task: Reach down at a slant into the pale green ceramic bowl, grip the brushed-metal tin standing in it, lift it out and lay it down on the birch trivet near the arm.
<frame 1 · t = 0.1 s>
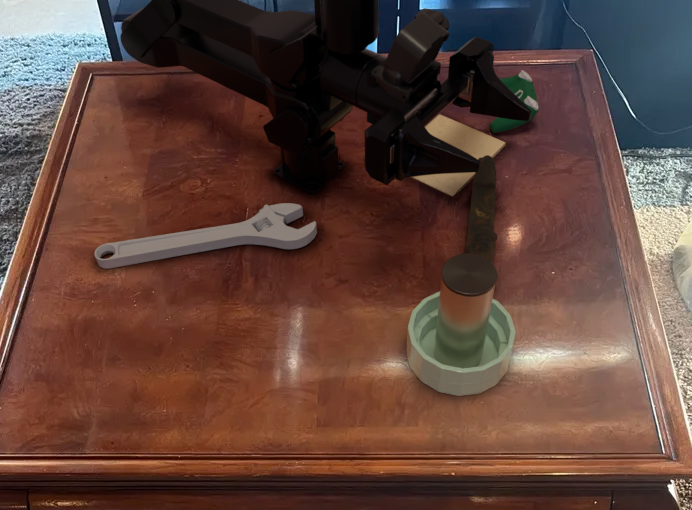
hand: (505, 140, 76), 17 cm above the table, tool horizontal, fingers open, 9 cm apart
adjustable wrench: (209, 241, 94), on the table
bowl: (457, 356, 82), on the table
tin: (457, 353, 81), resting on bowl
gaming controller: (508, 114, 105), on the table
hand tool: (474, 233, 93), on the table
trivet: (438, 153, 101), on the table
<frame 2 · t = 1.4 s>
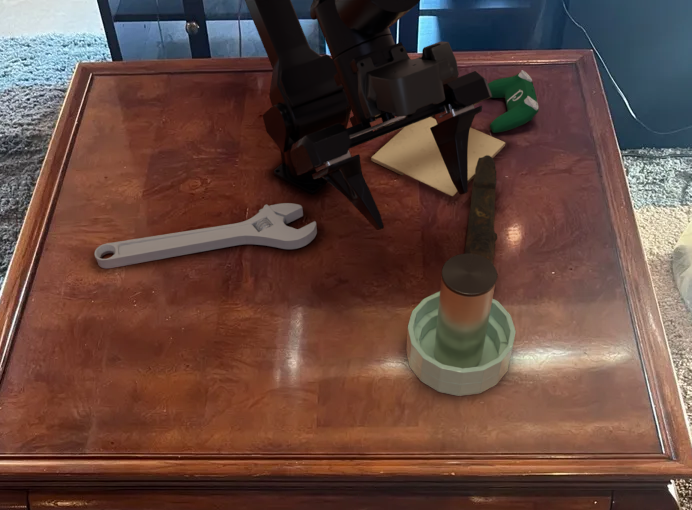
hand: (422, 211, 76), 14 cm above the table, tool tilted 45°, fingers open, 9 cm apart
nothing on the table moved.
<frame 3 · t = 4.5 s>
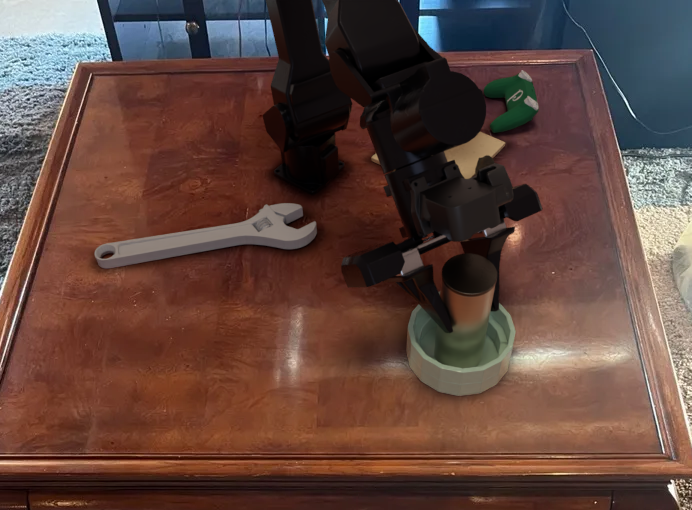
hand: (472, 321, 75), 7 cm above the table, tool tilted 45°, fingers closed on tin, 5 cm apart
tin: (458, 353, 81), point 1 cm above the table, touching bowl, gripper
everything else where it was.
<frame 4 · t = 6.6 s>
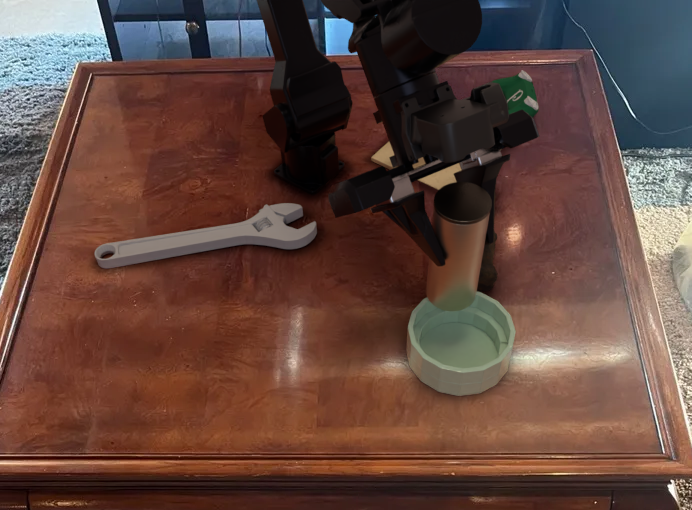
hand: (465, 255, 72), 13 cm above the table, tool tilted 45°, fingers closed on tin, 5 cm apart
tin: (450, 292, 78), point 7 cm above the table, touching gripper
everything else where it was.
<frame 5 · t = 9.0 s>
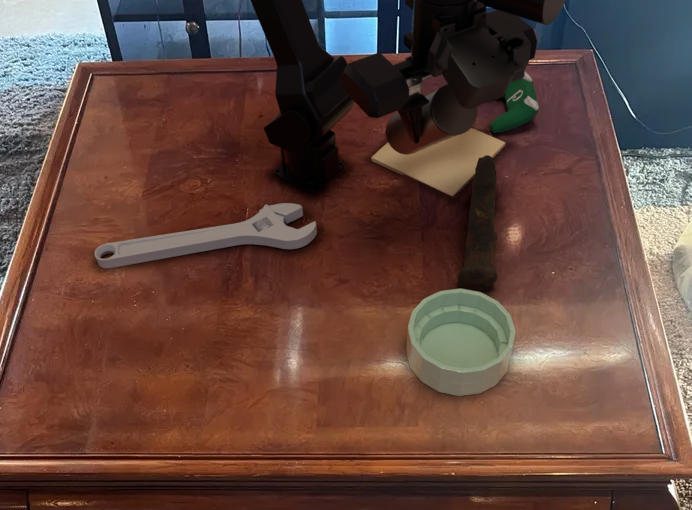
hand: (435, 133, 83), 13 cm above the table, tool pointing down, fingers closed on tin, 5 cm apart
tin: (405, 132, 89), point 9 cm above the table, tilted 45°, touching gripper
everything else where it was.
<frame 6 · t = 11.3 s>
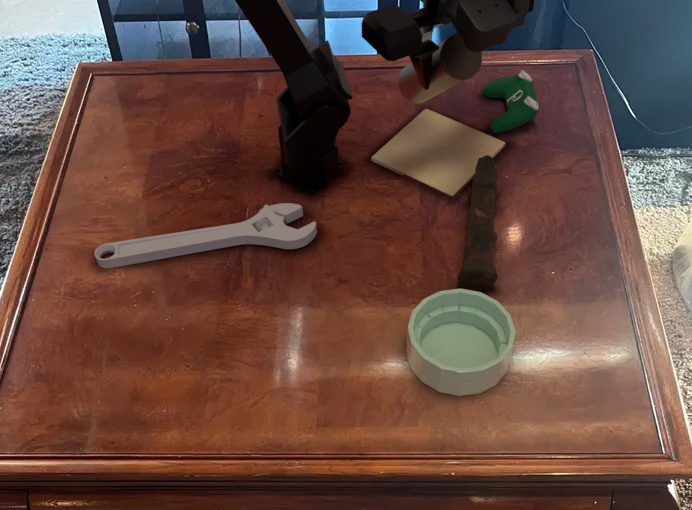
hand: (443, 80, 92), 11 cm above the table, tool pointing down, fingers closed on tin, 5 cm apart
tin: (416, 83, 99), point 7 cm above the table, tilted 45°, touching gripper
everything else where it was.
when the fingers open (6 cm above the table, at t = 13.0 s): tin moves 1 cm and tips over, resting on hand tool, trivet.
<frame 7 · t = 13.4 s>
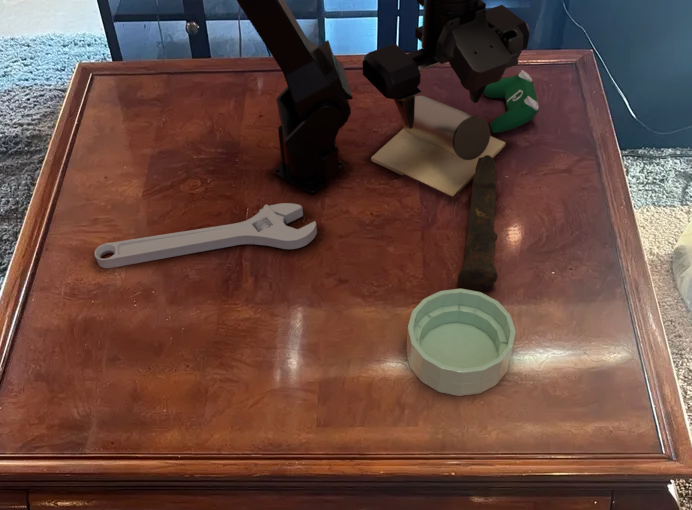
hand: (441, 113, 96), 6 cm above the table, tool pointing down, fingers open, 9 cm apart
tin: (417, 115, 101), point 3 cm above the table, tilted 71°, touching hand tool, trivet
hand tool: (474, 233, 93), on the table, touching tin
everything else where it was.
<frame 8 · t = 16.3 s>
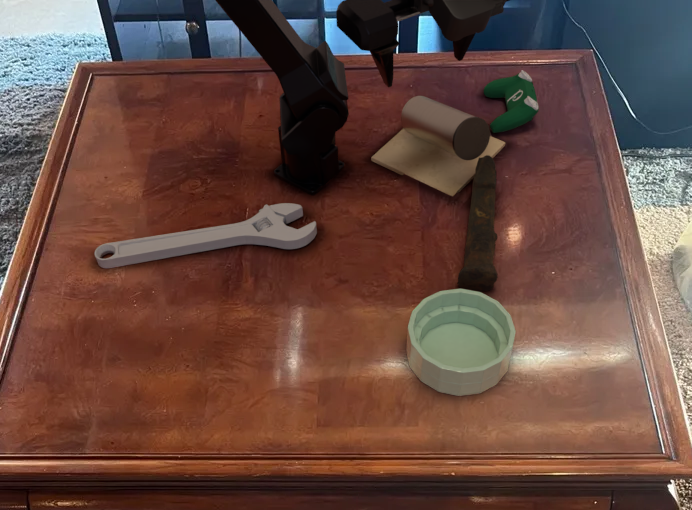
hand: (423, 71, 90), 13 cm above the table, tool pointing down, fingers open, 9 cm apart
nothing on the table moved.
at the end: tin inside the target area on the trivet (4.7 cm from its centre), point 2.9 cm above the trivet's base; the gripper is holding nothing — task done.
